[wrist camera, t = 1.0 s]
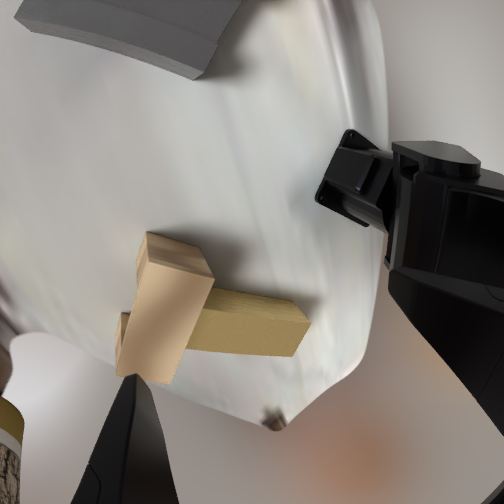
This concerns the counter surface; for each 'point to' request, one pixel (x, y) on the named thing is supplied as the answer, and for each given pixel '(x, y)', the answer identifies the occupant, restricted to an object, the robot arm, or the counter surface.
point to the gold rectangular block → (248, 325)
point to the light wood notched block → (162, 308)
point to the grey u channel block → (138, 28)
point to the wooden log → (10, 452)
